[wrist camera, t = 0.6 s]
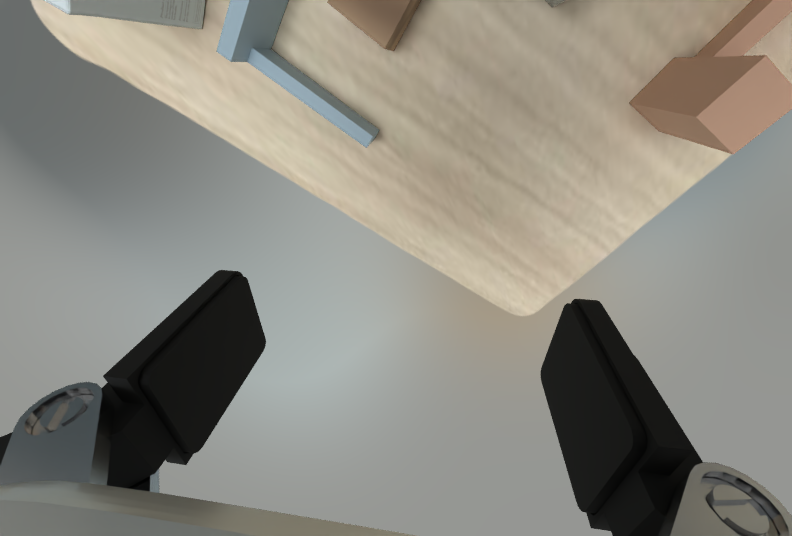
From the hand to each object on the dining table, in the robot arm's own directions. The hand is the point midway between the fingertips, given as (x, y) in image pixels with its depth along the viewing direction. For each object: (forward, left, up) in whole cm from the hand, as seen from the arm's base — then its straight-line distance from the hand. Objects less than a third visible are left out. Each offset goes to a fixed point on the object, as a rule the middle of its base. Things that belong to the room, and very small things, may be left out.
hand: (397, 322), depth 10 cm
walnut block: (-7, -10, -27) cm, 29 cm away
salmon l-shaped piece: (-20, +14, -27) cm, 36 cm away
